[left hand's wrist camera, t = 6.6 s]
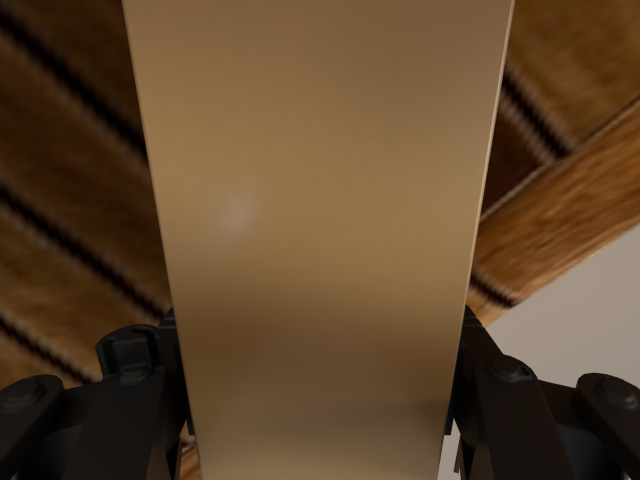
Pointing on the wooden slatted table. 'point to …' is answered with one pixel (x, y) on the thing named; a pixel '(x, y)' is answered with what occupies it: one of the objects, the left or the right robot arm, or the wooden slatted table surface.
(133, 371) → the left robot arm
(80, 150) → the wooden slatted table surface
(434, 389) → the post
